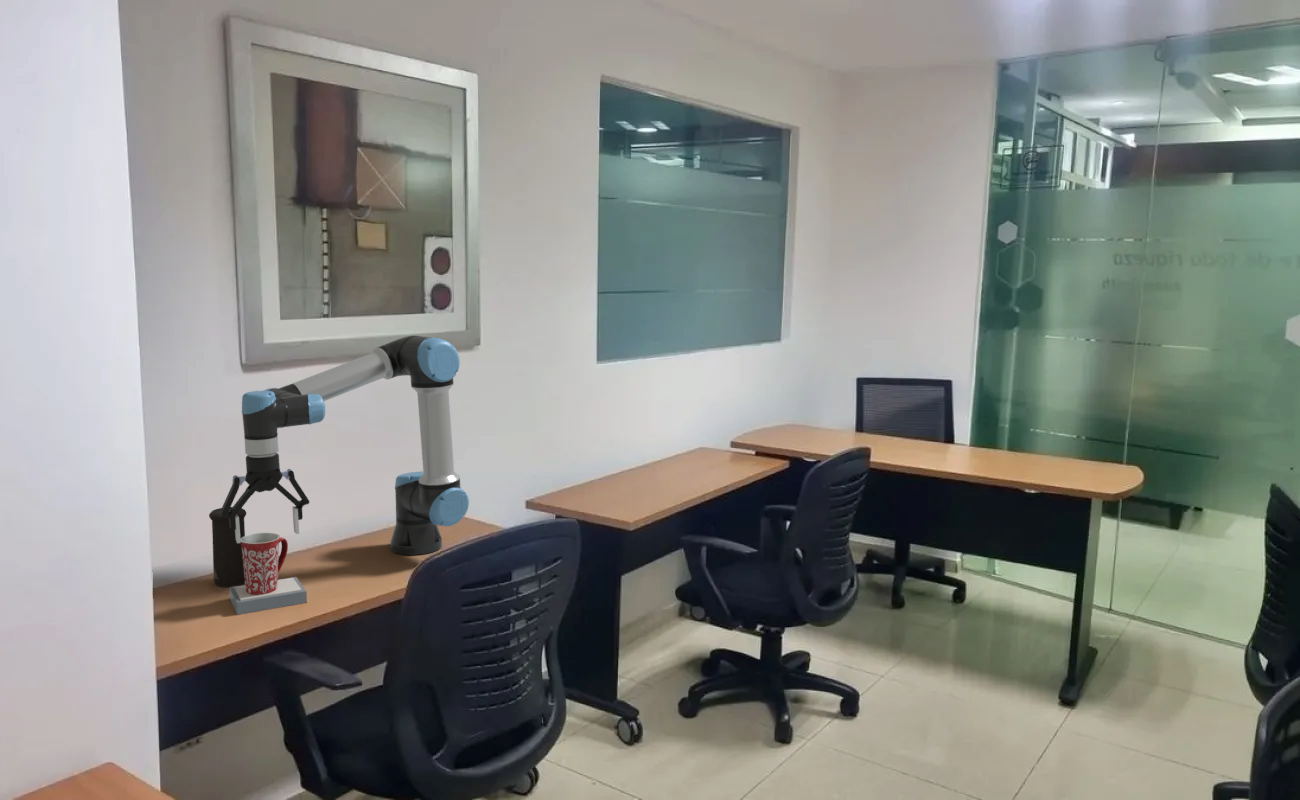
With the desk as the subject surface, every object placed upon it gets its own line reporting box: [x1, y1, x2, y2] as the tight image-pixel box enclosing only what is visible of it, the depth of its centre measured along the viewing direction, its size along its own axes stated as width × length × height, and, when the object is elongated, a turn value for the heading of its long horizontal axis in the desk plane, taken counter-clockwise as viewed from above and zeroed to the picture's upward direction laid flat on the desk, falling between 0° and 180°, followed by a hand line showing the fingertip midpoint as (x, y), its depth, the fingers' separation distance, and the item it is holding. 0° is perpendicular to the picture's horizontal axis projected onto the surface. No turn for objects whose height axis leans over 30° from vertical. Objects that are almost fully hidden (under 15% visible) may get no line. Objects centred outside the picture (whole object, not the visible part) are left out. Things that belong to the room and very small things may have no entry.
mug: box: [241, 532, 289, 594], centre depth 222 cm, size 13×9×14 cm
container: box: [208, 506, 247, 588], centre depth 234 cm, size 9×9×20 cm
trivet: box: [229, 576, 308, 616], centre depth 223 cm, size 16×12×3 cm
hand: (267, 537), depth 221 cm, fingers open, 13 cm apart
